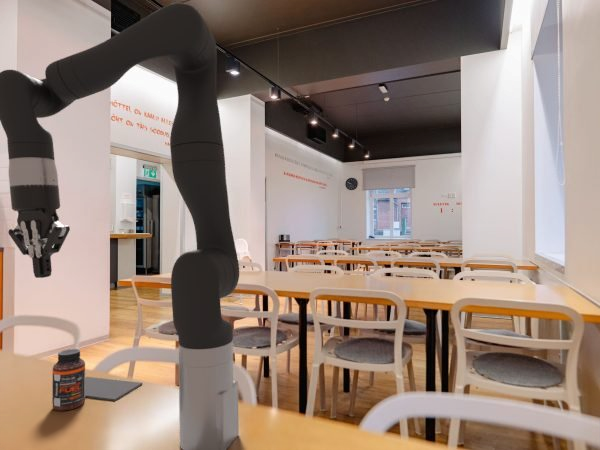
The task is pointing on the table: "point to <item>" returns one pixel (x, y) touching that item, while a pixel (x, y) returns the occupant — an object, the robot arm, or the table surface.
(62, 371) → the supplement bottle
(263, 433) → the table surface
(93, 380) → the rubber mat
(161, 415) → the table surface
